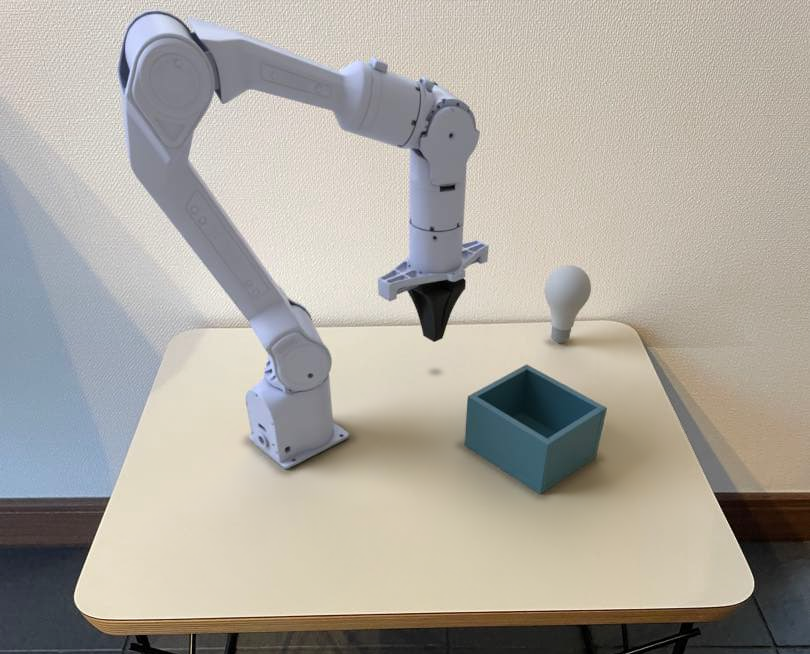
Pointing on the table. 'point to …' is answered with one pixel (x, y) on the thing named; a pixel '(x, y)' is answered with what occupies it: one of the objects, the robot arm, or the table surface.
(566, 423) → the teal open box
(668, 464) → the table surface
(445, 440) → the table surface
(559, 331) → the lightbulb
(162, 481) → the table surface
